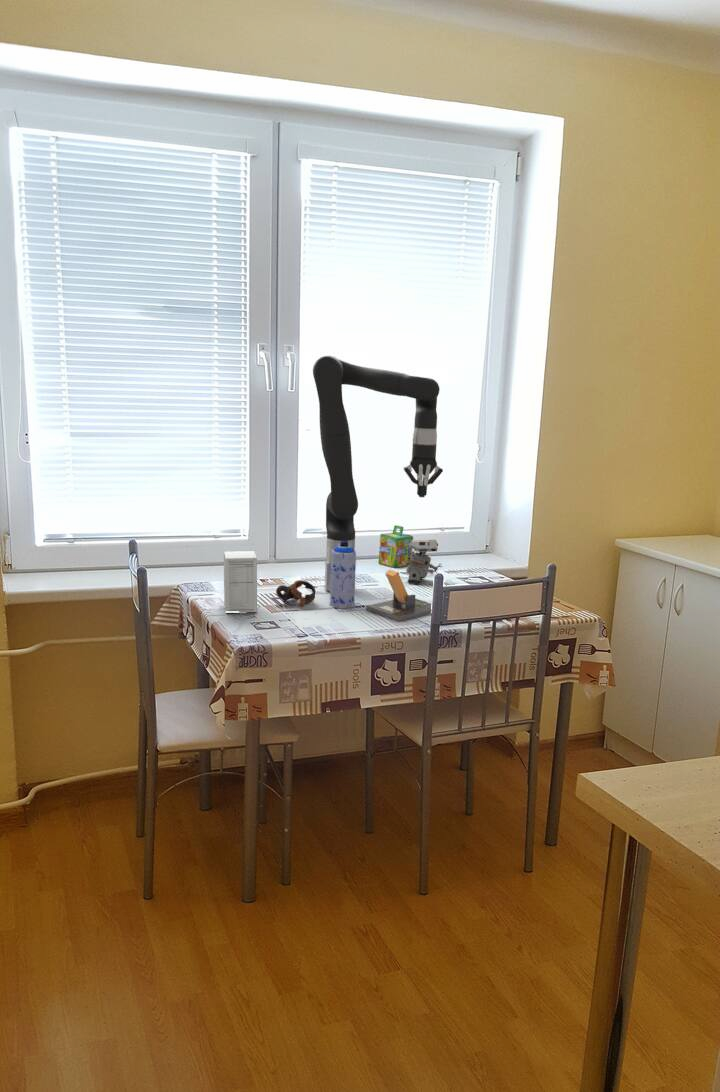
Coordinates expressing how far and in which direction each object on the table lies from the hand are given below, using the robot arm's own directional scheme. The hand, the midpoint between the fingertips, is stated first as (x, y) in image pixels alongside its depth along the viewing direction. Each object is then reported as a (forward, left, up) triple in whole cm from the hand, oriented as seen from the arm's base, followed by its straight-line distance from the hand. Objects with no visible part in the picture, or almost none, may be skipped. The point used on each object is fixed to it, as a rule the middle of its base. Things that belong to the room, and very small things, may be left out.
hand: (421, 496), depth 258 cm
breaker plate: (-8, -20, -32) cm, 39 cm away
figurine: (+5, +15, -32) cm, 36 cm away
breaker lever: (-8, -20, -29) cm, 36 cm away
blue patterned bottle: (-26, -13, -32) cm, 43 cm away
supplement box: (-57, -18, -32) cm, 68 cm away
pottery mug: (-40, -12, -32) cm, 53 cm away
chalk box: (0, +41, -32) cm, 52 cm away
